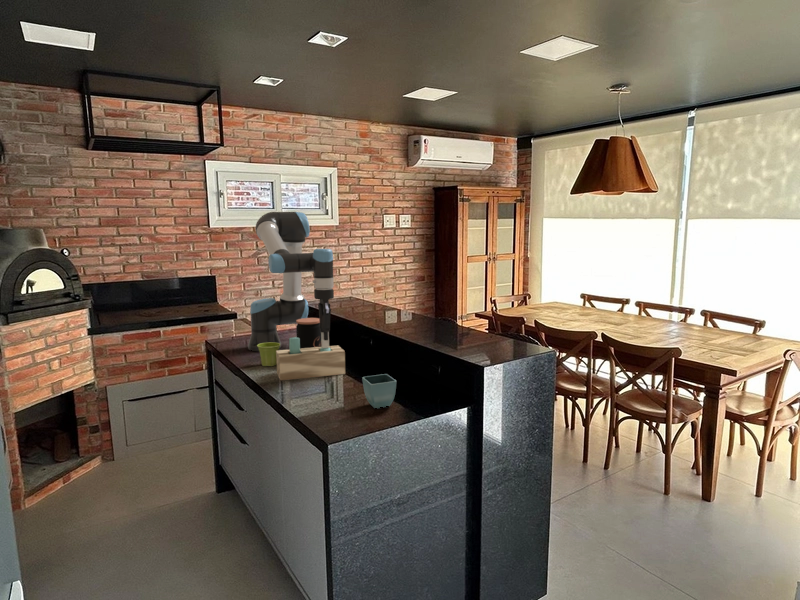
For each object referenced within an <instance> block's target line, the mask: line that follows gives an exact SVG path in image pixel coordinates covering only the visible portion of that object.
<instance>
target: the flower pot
mask: <svg viewBox="0 0 800 600" xmlns="http://www.w3.org/2000/svg"><path fill="white" fill-rule="evenodd" d="M361 378H362V379H361V381H362V386H363V392H364V395H365V398H366V400H367V402H368V403H369V404H370V406H372V407H373V409H375V408H377V409H381V408H380V407H383V408H387V407H386V406H389V407H390V406H391V405H392V403H393V401H394V399H395V395H396V389H397V380H396V379H394V378H393V377H392V376H390V375H389V374H388V373H384V374H382V373H381V374H376V375H367V376H363V377H361Z"/></svg>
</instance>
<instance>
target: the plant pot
mask: <svg viewBox="0 0 800 600" xmlns="http://www.w3.org/2000/svg"><path fill="white" fill-rule="evenodd" d="M279 346H280V343H275V342H268V343H260V344H258V345H257V347H258V349H259V351H258V352H259V355H260V361H261V365H262V366H263V367H274V366H277V359H276V351H278V350H280V348H279Z"/></svg>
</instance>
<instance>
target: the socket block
mask: <svg viewBox="0 0 800 600" xmlns="http://www.w3.org/2000/svg"><path fill="white" fill-rule="evenodd" d="M320 348H322V347H314V348H302V349H300V354H290V349H279V350H278V351H276V359H277V364H276V373H277V376H278V378H279V380H280V381H287V380H297V379H308V378H309V379H310V378H317V377H327V376H336V375H345V374H346V352H345V350H344V349H343V348H342V347H341V346H340V345H329V348H331V351H323V352H320Z"/></svg>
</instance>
